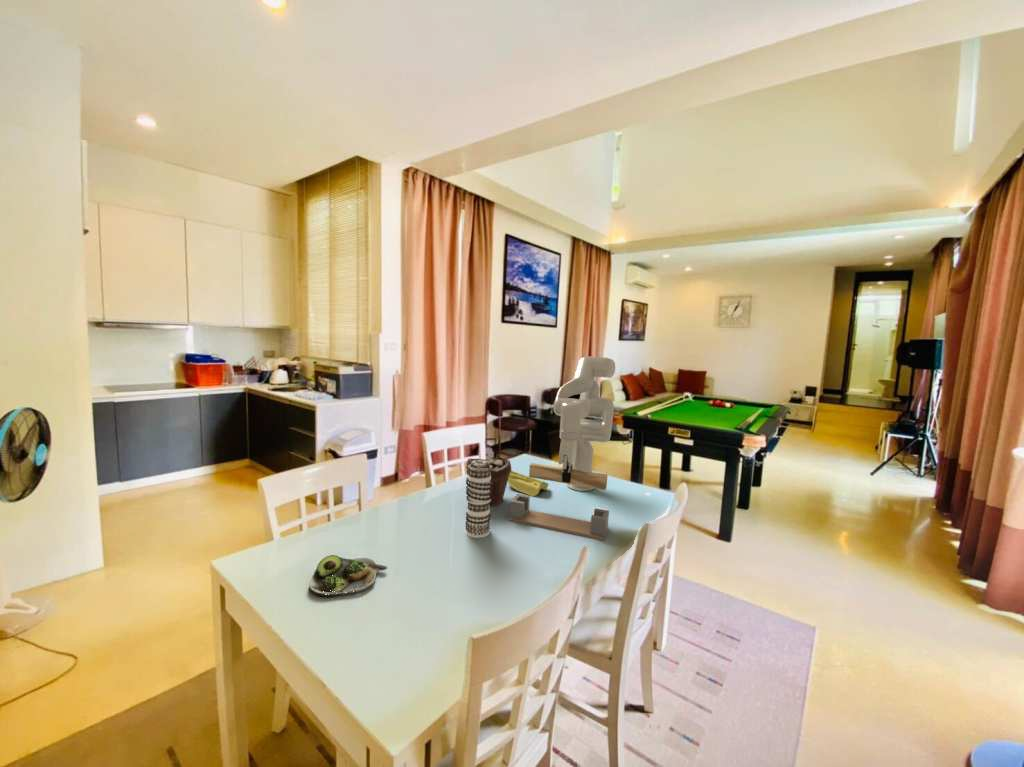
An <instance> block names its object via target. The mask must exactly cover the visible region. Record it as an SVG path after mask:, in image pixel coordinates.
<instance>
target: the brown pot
mask: <svg viewBox="0 0 1024 767" xmlns="http://www.w3.org/2000/svg"><path fill="white" fill-rule="evenodd" d="M475 460H485V461H487V462H488V463H489V464H490V465H491V466H492V468H491V481H492V482H493V484H492V485H491V486H492V487H493V488H492V489H491V490H490V491H491V492H492V494H491V497H492V498H491V501H490V504H489V507H493V506H497V505H500V504H502V503H503V501H504V496H505V492H506V488H507V486H508V485H507V484H508V477H509V474H510V473H511V471H512V468H513V467H512V464H511V461H510V460H509V459H508V458H503V457H498V458H490V459H484V458H483V459H482V458H471V457H470V458H468V459H467V462H466V467H465V468H466V476H468V474H469V467H468V465H470V464H471V463H472V462H473V461H475Z"/></svg>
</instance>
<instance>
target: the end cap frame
mask: <svg viewBox="0 0 1024 767" xmlns="http://www.w3.org/2000/svg"><path fill="white" fill-rule="evenodd" d="M530 497H531V496H530V495H528V494H520V493H517V494H516V495H514V497H513V498H512V499H511V500H510V501H509V517H508V521H509V522H515V523H519V524H525V525H530V526H533V527H538V528H543V529H548V530H553V531H557V532H561V533H562V532H563V533H565V534H566V533H567V534H572V535H576V536H581V537H586V538H591V539H596V540H600V541H605V538H606V535H607V532H608V530H609V516H610V515H609V514H610V510H607V509H602V508H594V509H593V512H594V513H593V514H592V515H591V517H590V521H587V520H582V519H577V518H573V517H569V516H568V517H566V516H563V515H562V516H561V515H557V514H552V513H546V512H542V511H537V510H532V509H530V501H531V500H530V499H531V498H530Z"/></svg>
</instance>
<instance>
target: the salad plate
mask: <svg viewBox="0 0 1024 767" xmlns="http://www.w3.org/2000/svg"><path fill="white" fill-rule="evenodd" d="M387 569H388V566H386V565H384V564H383V565H382V564H377V563H376V562H375V560H373V559H371V558H369V557H358V558H344V557H341V556H339V555H335V554H331V555H328V556H325V557H324V558H322V559H321V560H320V561H319V563H318V564H317V566H316V569H315V571H314V573H313V575H312V577H311V580H310V583H309V585H308V586H309V587H308V590H309V592H310V593H311V594H312V595H314V596H317V597H322V598H330V597H331V598H333V597H338V596H339V597H340V596H345V595H346V596H347V595H350V594H354V593H359V592H362V591H364V590H367V589H368V588H369V587H371V586H373V585H374V583H375V581H376V577H377V574H378V572H380V571H381V572H382V571H386V570H387ZM332 575H333V576H332ZM357 582H362V585H360V586H359V587H356V588H354V589H351V590H346V591H343V590H344V589H345V588H346V587H347V586H349V585H350V584H351V583H352V584H353V583H357ZM339 589H340V590H339ZM330 590H331V591H330ZM323 591H324V592H323ZM332 591H333V592H332ZM334 591H335V592H334ZM353 591H354V592H353ZM344 592H347V593H344ZM336 593H337V594H336ZM325 594H327V595H325ZM328 594H329V595H328Z"/></svg>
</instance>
